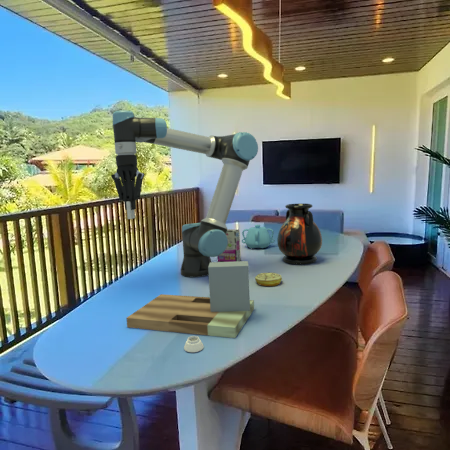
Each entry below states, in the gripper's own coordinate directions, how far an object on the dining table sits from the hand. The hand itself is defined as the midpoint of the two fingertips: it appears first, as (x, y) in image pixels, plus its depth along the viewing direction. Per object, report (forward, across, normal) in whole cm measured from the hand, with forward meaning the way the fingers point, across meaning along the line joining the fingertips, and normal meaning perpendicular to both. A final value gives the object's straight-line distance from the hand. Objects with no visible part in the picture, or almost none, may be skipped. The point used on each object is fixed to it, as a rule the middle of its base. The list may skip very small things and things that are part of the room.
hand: (131, 218), depth 139 cm
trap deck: (+29, +31, -18) cm, 46 cm away
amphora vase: (+30, +55, +60) cm, 87 cm away
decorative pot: (+30, +27, +91) cm, 99 cm away
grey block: (+26, +42, -15) cm, 52 cm away
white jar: (+30, +39, -37) cm, 62 cm away
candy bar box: (+30, +20, +55) cm, 66 cm away
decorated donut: (+30, +47, +22) cm, 60 cm away
